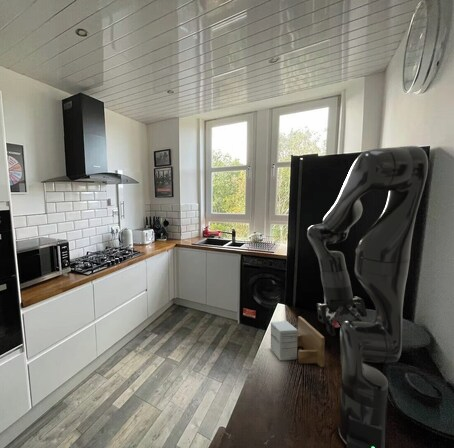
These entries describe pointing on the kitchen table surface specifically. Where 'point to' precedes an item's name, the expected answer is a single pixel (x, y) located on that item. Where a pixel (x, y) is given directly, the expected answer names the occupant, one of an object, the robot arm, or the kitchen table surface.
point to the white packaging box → (284, 340)
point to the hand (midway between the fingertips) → (345, 332)
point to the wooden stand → (310, 343)
